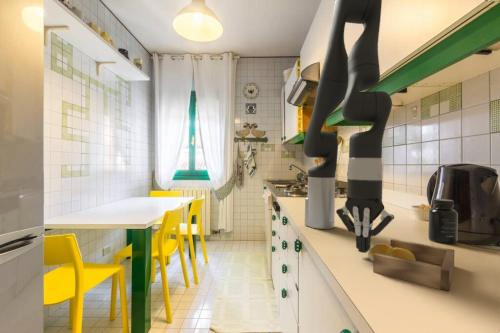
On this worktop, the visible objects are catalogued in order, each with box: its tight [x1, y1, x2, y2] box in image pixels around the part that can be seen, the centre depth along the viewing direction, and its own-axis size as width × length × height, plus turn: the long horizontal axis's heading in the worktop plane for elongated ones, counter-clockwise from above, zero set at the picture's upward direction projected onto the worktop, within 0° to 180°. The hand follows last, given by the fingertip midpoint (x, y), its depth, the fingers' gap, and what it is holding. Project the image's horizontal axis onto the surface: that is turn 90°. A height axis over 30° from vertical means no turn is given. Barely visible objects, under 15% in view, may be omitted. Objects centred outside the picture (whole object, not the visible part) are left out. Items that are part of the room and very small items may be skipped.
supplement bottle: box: [427, 198, 459, 245], centre depth 76 cm, size 7×7×12 cm
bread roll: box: [367, 242, 417, 262], centre depth 58 cm, size 8×9×4 cm
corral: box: [372, 238, 455, 292], centre depth 55 cm, size 12×15×4 cm
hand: (362, 251), depth 61 cm, fingers closed
